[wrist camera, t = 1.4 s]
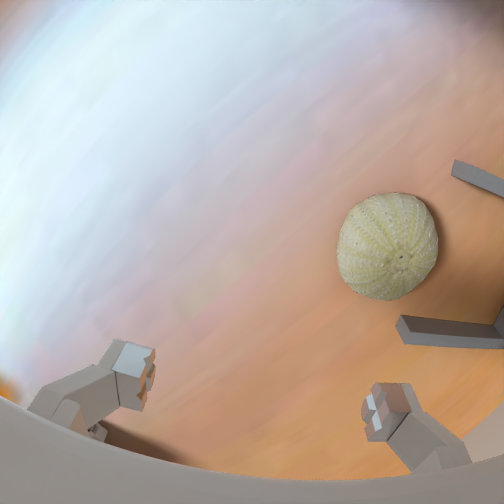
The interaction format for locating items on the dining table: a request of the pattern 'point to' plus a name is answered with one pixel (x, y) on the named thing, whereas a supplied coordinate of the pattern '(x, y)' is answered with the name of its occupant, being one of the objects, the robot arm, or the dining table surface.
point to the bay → (453, 332)
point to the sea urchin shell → (387, 246)
